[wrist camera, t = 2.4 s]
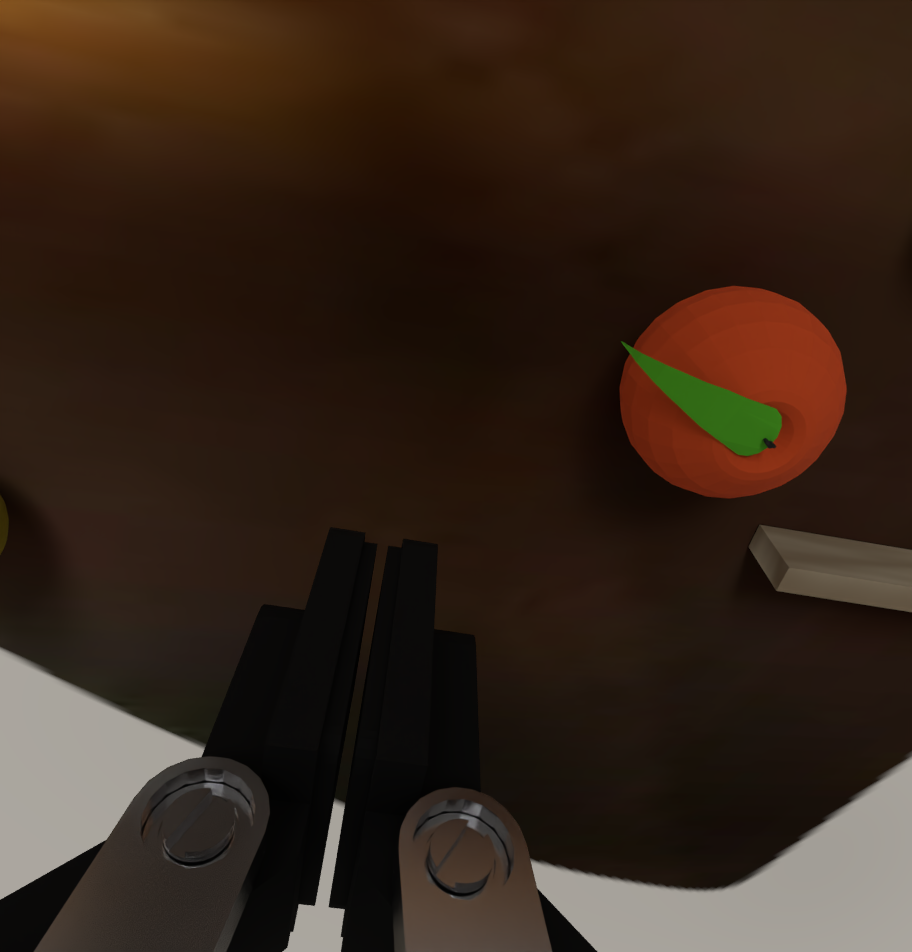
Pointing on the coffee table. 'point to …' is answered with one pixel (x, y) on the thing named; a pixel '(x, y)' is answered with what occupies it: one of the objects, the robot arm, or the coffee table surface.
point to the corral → (835, 568)
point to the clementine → (732, 392)
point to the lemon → (3, 524)
